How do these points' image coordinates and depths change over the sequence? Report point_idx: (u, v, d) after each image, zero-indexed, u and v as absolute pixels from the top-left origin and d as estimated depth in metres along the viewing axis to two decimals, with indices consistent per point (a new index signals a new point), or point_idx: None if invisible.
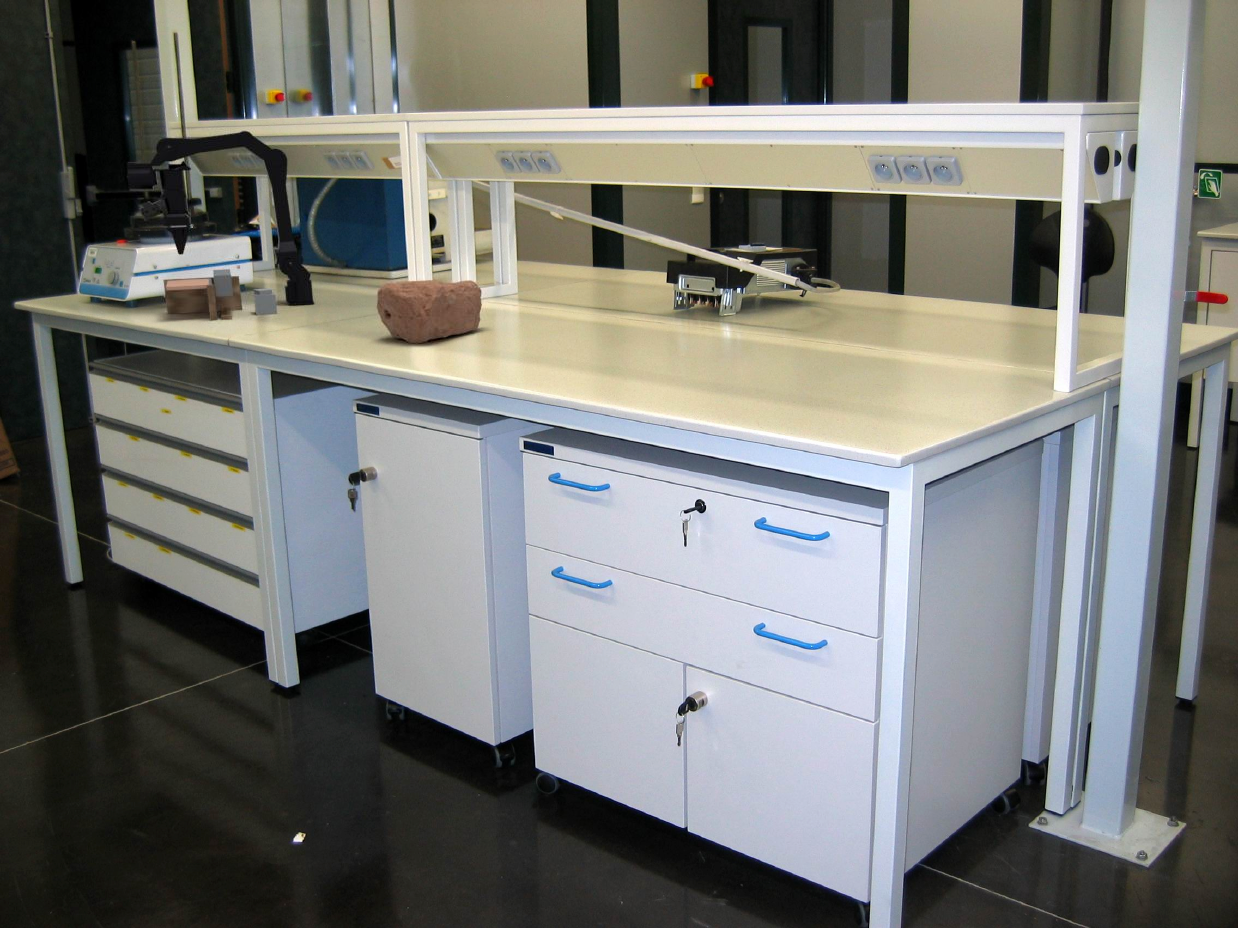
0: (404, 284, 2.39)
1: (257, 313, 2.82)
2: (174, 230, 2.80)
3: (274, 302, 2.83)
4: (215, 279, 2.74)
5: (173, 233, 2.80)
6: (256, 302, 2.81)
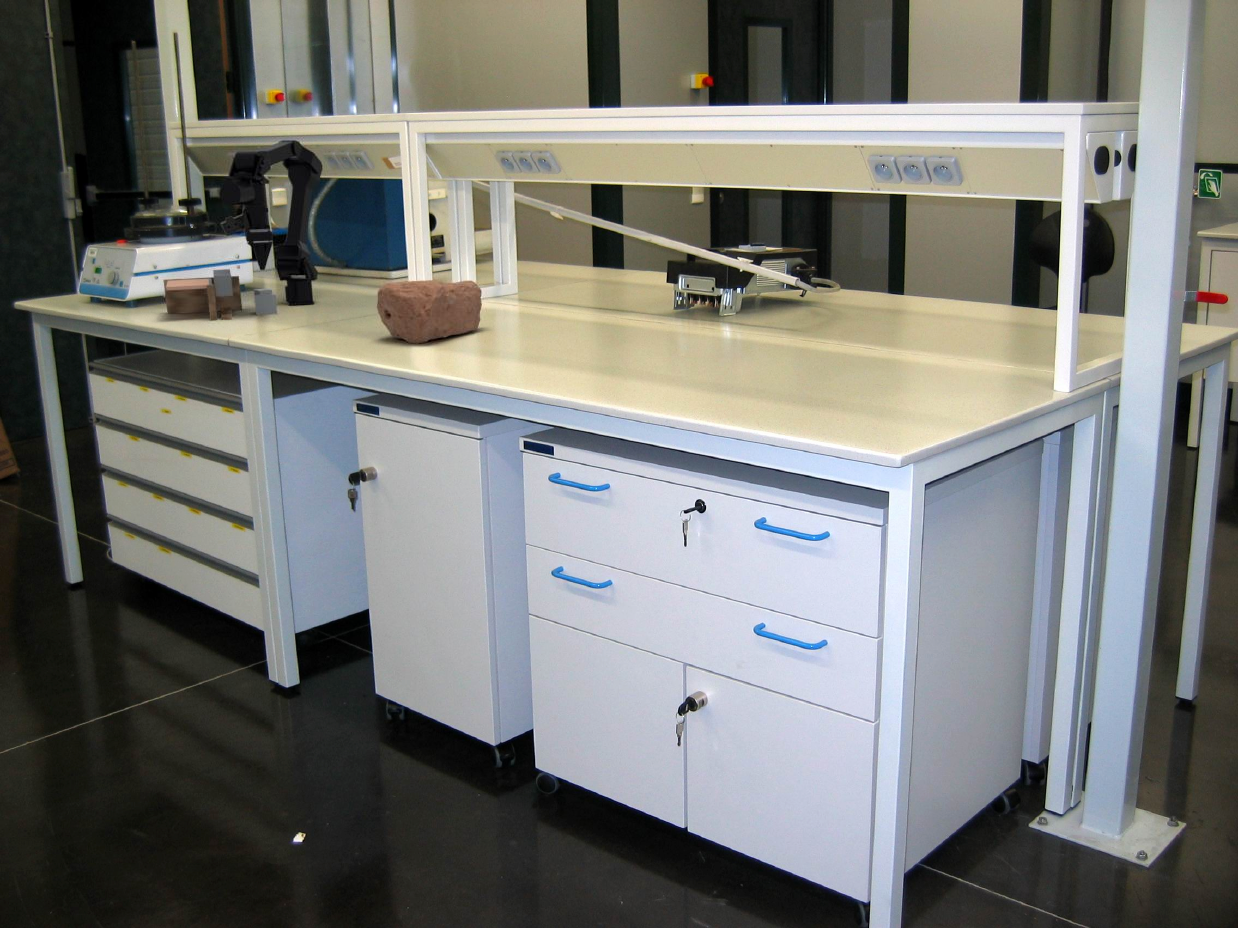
0: (404, 284, 2.39)
1: (257, 313, 2.82)
2: (256, 245, 2.74)
3: (274, 302, 2.83)
4: (215, 279, 2.74)
5: (255, 248, 2.74)
6: (256, 302, 2.81)
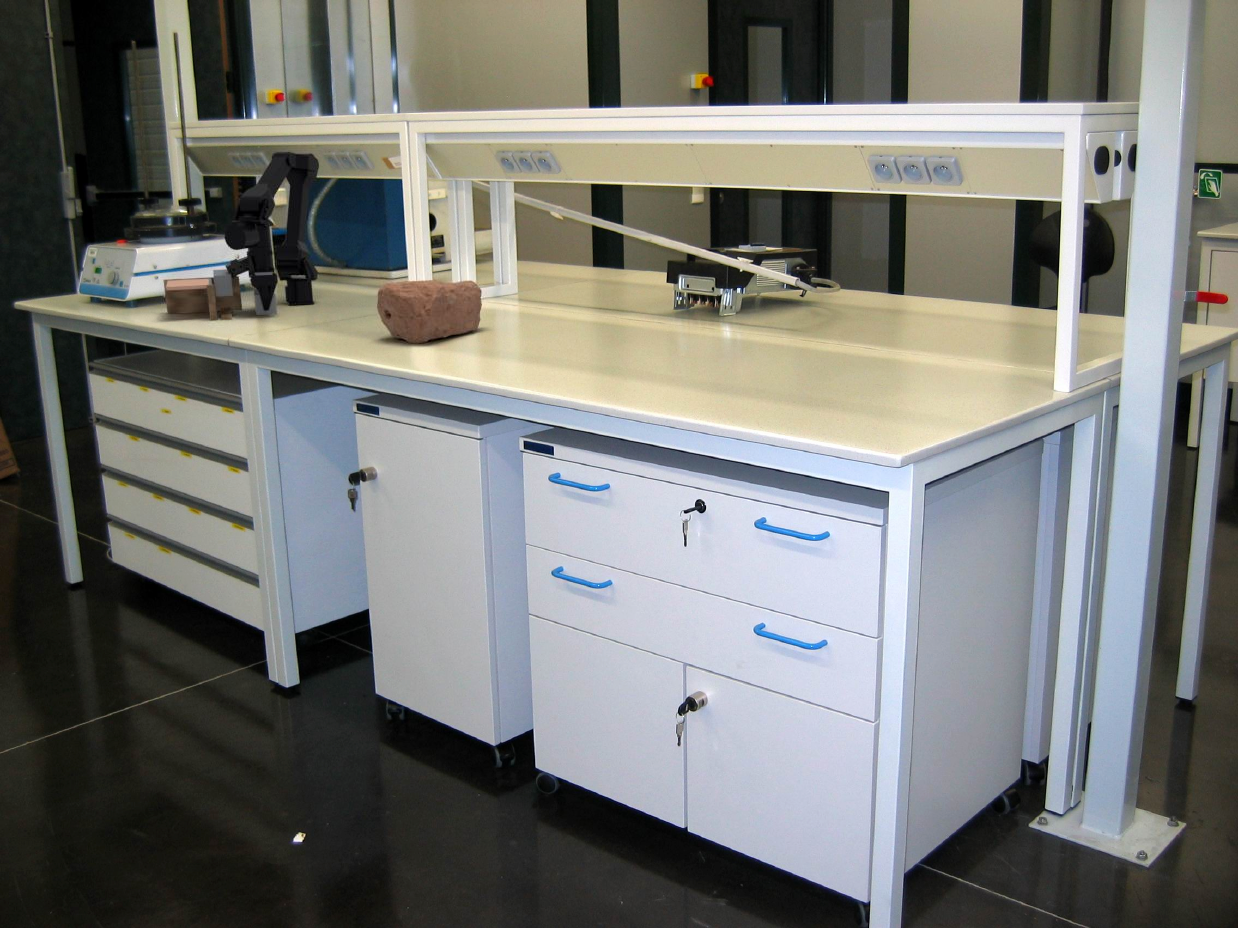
0: (404, 284, 2.39)
1: (257, 313, 2.82)
2: (261, 287, 2.79)
3: (274, 302, 2.82)
4: (215, 279, 2.74)
5: (260, 290, 2.79)
6: (256, 302, 2.81)
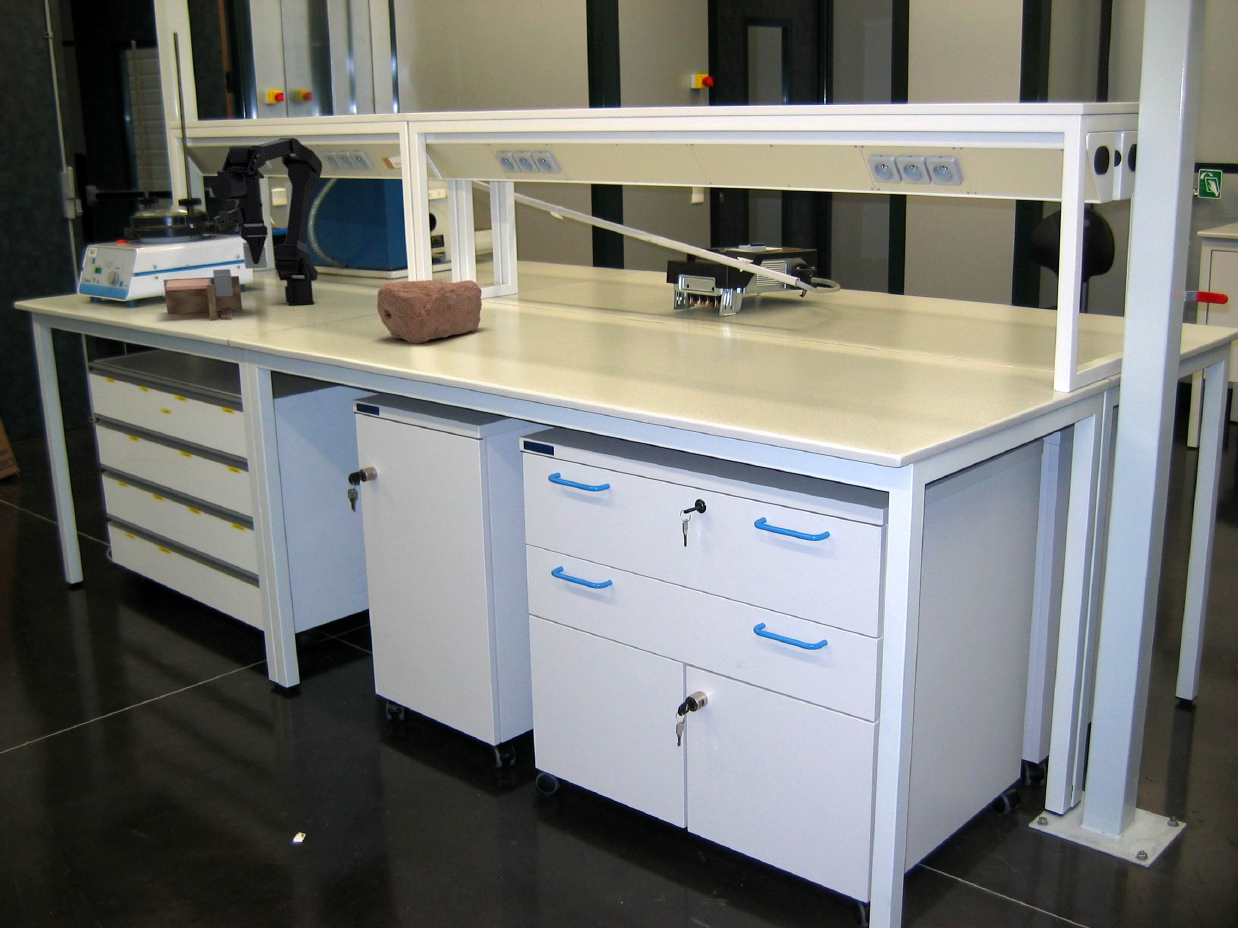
0: (404, 284, 2.39)
1: (247, 266, 2.78)
2: (250, 239, 2.75)
3: (264, 255, 2.79)
4: (215, 279, 2.74)
5: (249, 242, 2.75)
6: (245, 255, 2.77)
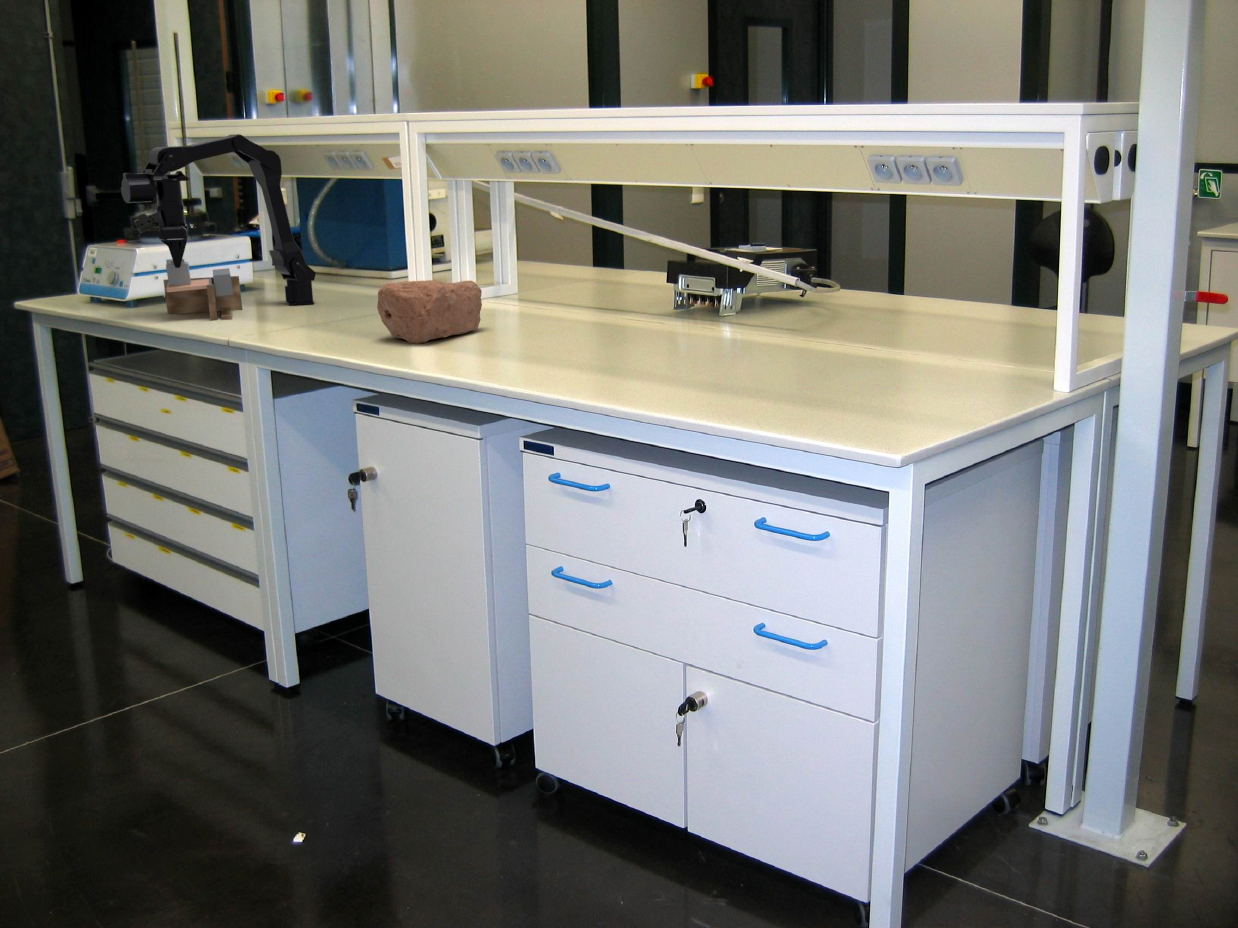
0: (405, 284, 2.39)
1: (170, 284, 2.75)
2: (171, 243, 2.70)
3: (187, 272, 2.75)
4: (215, 279, 2.74)
5: (170, 246, 2.70)
6: (168, 272, 2.74)
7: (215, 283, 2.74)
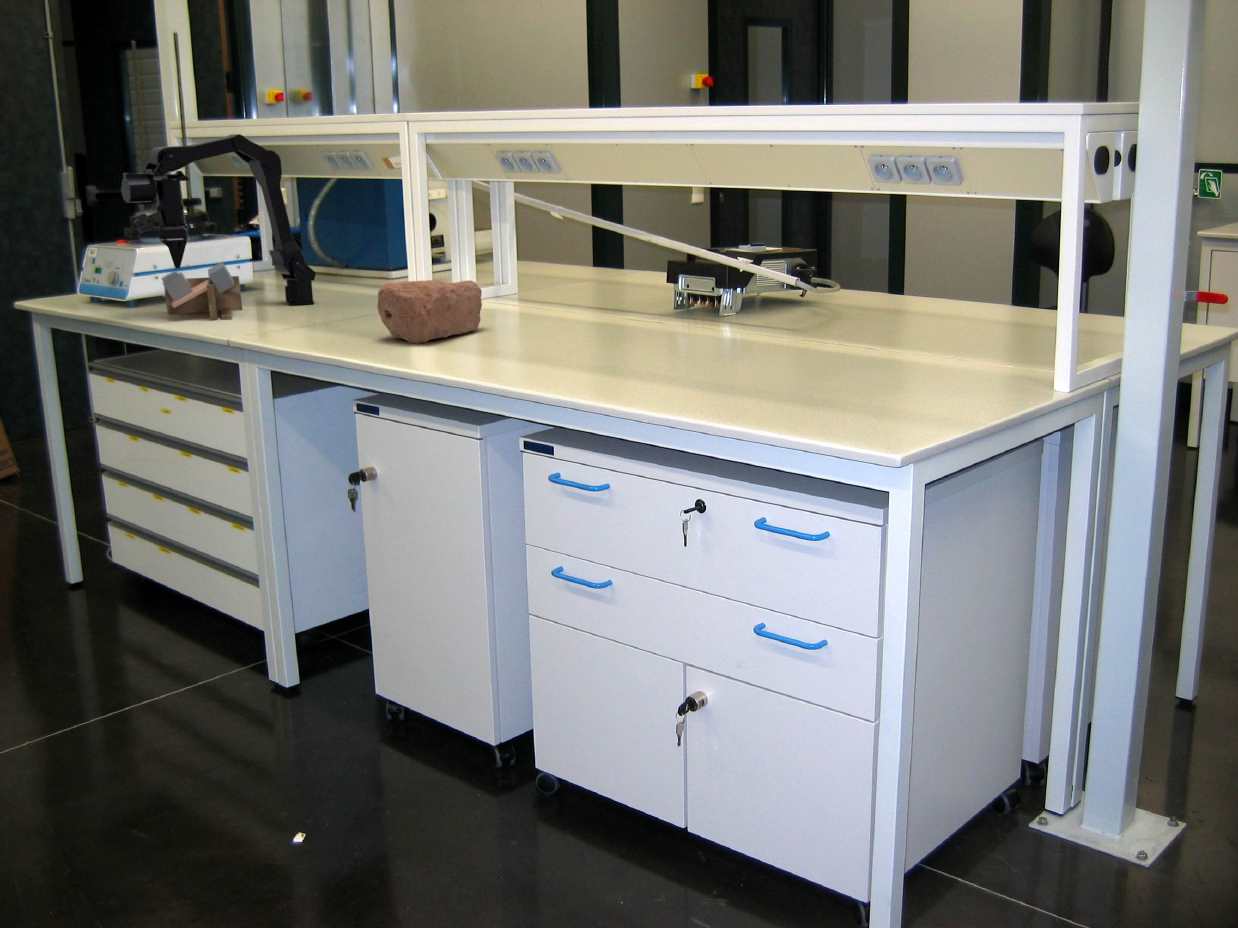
0: (405, 284, 2.39)
1: (174, 299, 2.76)
2: (170, 243, 2.69)
3: (184, 281, 2.76)
4: (211, 277, 2.73)
5: (169, 246, 2.69)
6: (167, 289, 2.75)
7: (213, 281, 2.74)
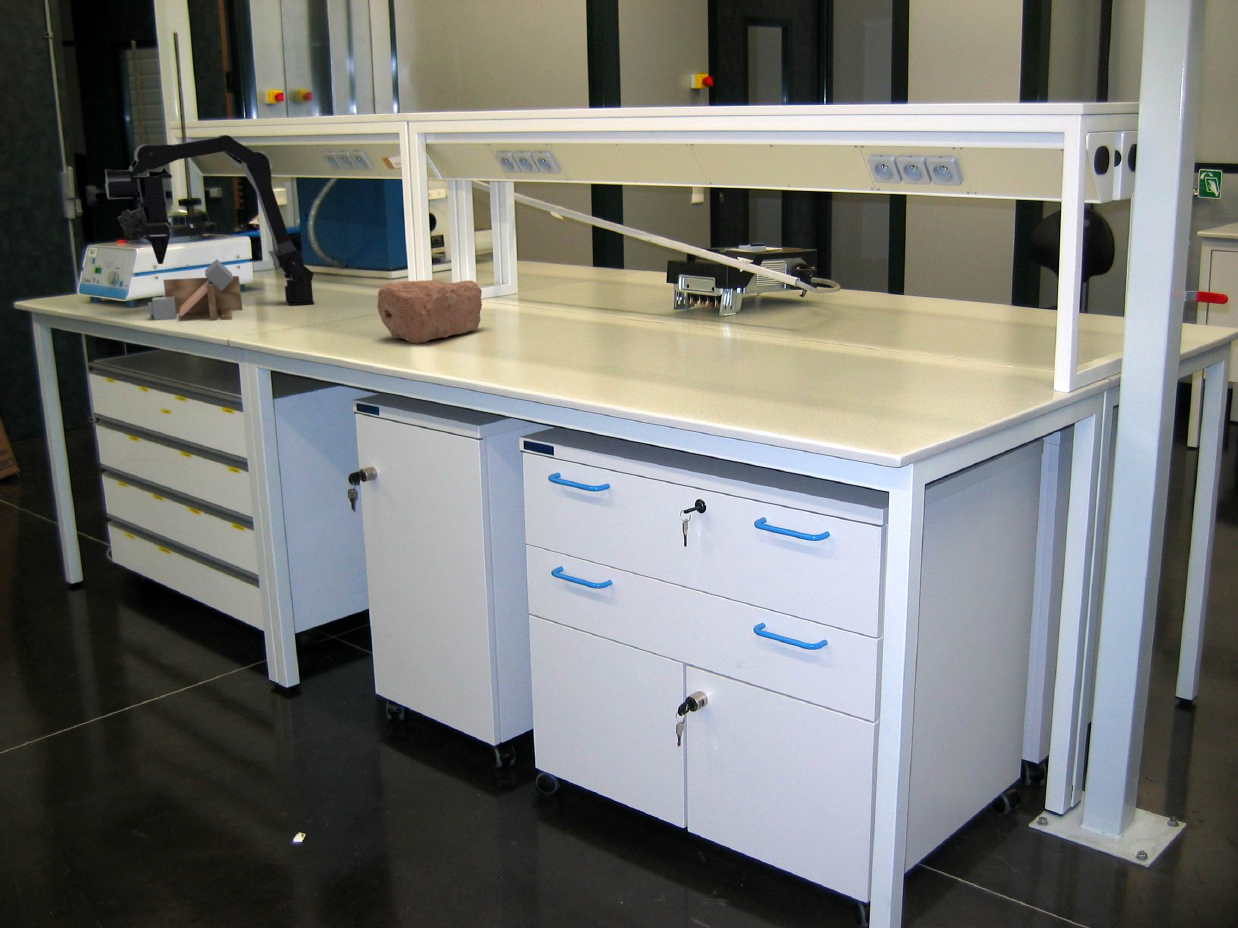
0: (405, 284, 2.39)
1: (174, 318, 2.77)
2: (153, 239, 2.73)
3: (161, 301, 2.75)
4: (209, 277, 2.73)
5: (152, 242, 2.73)
6: (162, 319, 2.76)
7: (212, 281, 2.74)
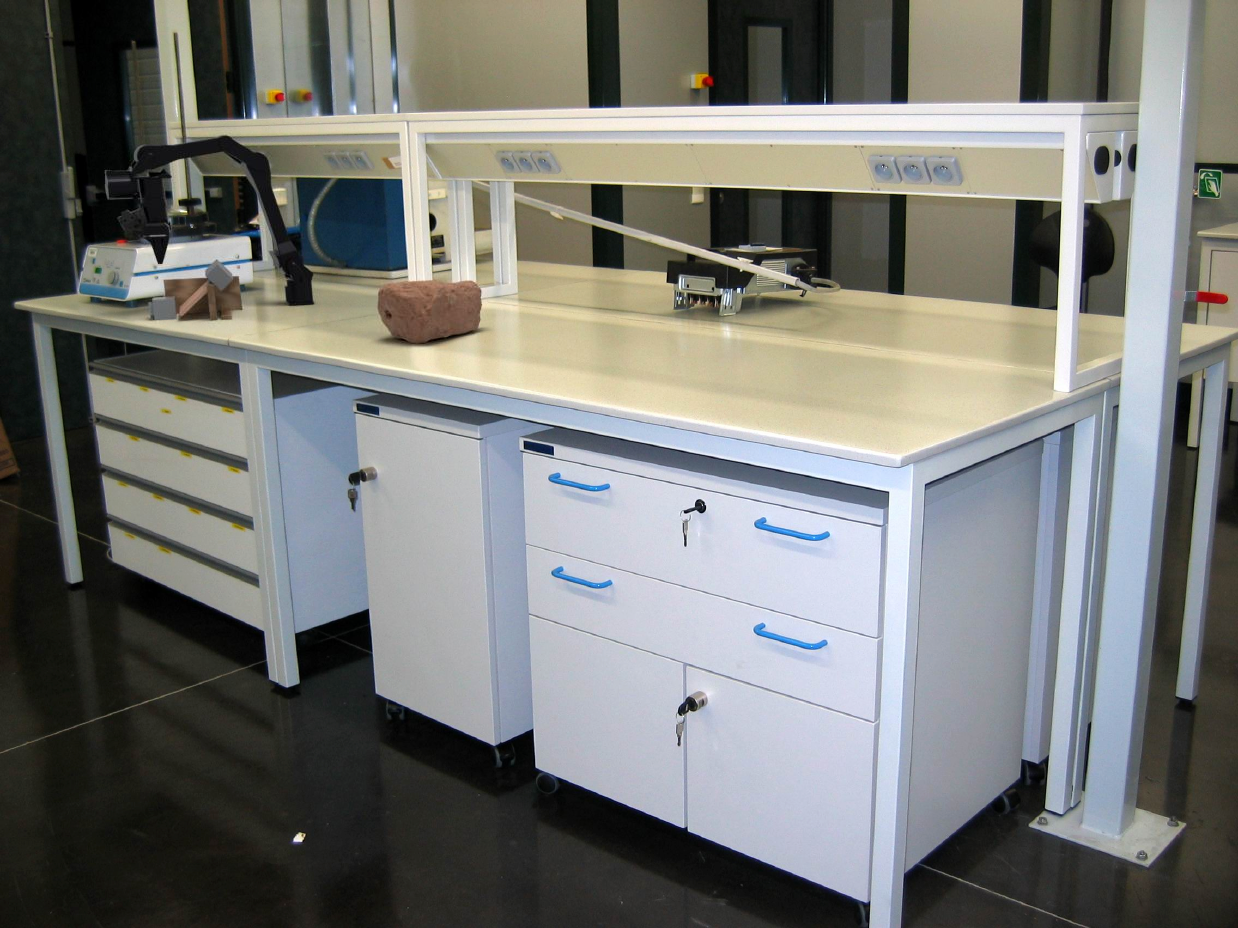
0: (405, 284, 2.39)
1: (174, 318, 2.77)
2: (153, 239, 2.74)
3: (161, 301, 2.75)
4: (209, 277, 2.73)
5: (152, 242, 2.73)
6: (162, 319, 2.76)
7: (212, 281, 2.74)
